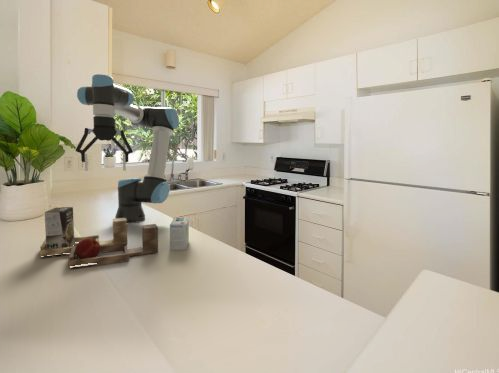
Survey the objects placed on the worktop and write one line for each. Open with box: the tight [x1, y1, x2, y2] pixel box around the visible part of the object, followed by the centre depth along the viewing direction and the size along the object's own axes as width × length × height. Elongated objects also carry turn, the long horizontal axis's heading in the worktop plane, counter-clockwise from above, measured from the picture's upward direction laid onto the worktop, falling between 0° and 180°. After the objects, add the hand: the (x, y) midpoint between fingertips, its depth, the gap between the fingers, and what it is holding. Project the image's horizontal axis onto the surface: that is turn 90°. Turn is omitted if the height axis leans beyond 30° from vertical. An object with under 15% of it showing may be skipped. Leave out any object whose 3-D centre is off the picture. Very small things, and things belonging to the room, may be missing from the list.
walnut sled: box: [68, 223, 159, 267], centre depth 102 cm, size 28×13×10 cm, turn 118°
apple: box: [75, 238, 101, 259], centre depth 98 cm, size 7×8×8 cm
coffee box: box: [44, 206, 76, 250], centre depth 106 cm, size 9×6×16 cm
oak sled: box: [39, 218, 128, 257], centre depth 110 cm, size 28×13×10 cm, turn 118°
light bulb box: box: [169, 217, 190, 251], centre depth 116 cm, size 11×7×11 cm, turn 7°
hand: (106, 170), depth 112 cm, fingers open, 13 cm apart
